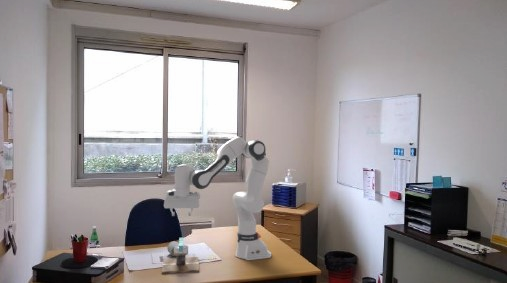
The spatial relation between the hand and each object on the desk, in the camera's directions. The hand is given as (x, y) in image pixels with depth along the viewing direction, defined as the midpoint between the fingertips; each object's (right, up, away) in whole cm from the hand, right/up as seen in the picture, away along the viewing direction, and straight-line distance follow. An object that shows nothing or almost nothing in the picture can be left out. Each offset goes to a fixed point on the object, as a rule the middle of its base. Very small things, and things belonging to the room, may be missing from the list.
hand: (181, 215), depth 215 cm
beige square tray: (+1, -28, -5) cm, 28 cm away
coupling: (+1, -21, -5) cm, 21 cm away
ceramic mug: (-5, -27, +14) cm, 31 cm away
